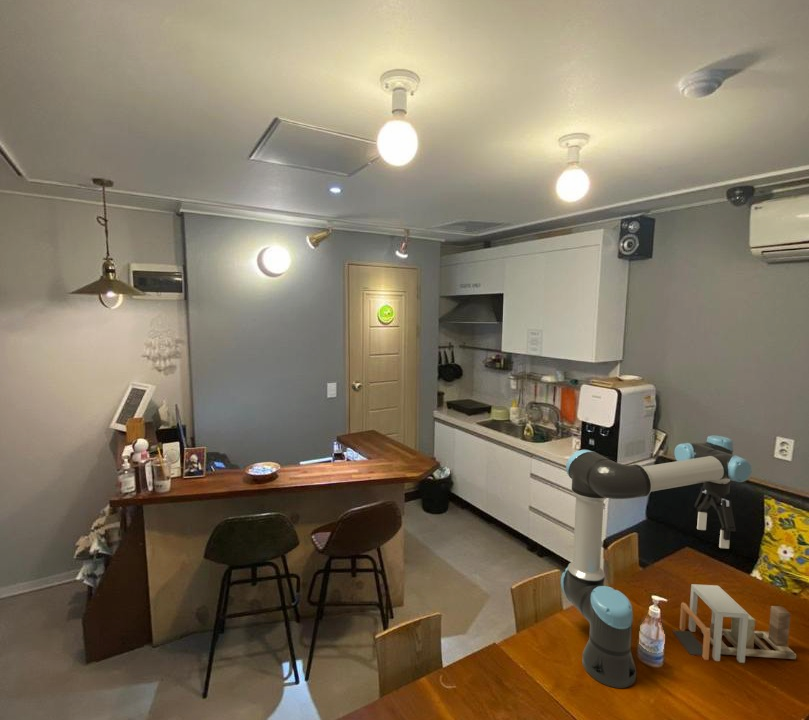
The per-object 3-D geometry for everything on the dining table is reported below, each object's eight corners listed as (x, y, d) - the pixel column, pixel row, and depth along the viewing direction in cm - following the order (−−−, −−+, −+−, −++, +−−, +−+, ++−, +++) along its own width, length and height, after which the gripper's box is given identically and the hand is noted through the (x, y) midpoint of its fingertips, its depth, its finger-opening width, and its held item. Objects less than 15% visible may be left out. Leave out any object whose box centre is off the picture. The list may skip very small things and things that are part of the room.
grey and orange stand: (704, 660, 140) (708, 611, 138) (679, 627, 154) (682, 583, 153) (744, 662, 139) (748, 613, 137) (715, 630, 153) (718, 585, 152)
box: (753, 652, 143) (756, 620, 142) (739, 651, 143) (742, 619, 143) (742, 640, 148) (745, 610, 147) (729, 640, 149) (731, 609, 148)
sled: (720, 654, 141) (722, 615, 140) (701, 631, 152) (703, 595, 151) (795, 659, 139) (799, 620, 138) (771, 636, 150) (774, 600, 149)
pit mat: (690, 654, 142) (690, 653, 142) (672, 631, 153) (672, 630, 153) (709, 656, 141) (709, 655, 141) (690, 632, 152) (690, 631, 152)
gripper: (752, 494, 140) (747, 557, 142) (707, 469, 165) (703, 523, 167) (727, 492, 141) (722, 555, 143) (686, 468, 166) (682, 521, 168)
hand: (712, 538), depth 155 cm, fingers open, 13 cm apart
